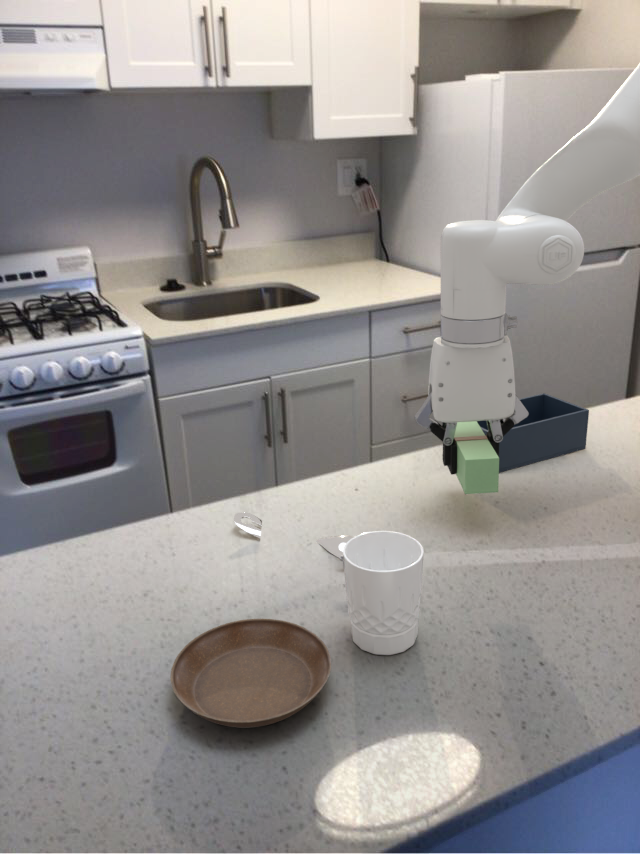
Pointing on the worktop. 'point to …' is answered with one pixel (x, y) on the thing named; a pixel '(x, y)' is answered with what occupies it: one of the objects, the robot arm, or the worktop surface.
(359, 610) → the white cup
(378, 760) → the worktop surface
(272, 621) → the saucer
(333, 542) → the ceramic shards
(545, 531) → the worktop surface
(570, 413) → the bin
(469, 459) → the light green rectangular block
